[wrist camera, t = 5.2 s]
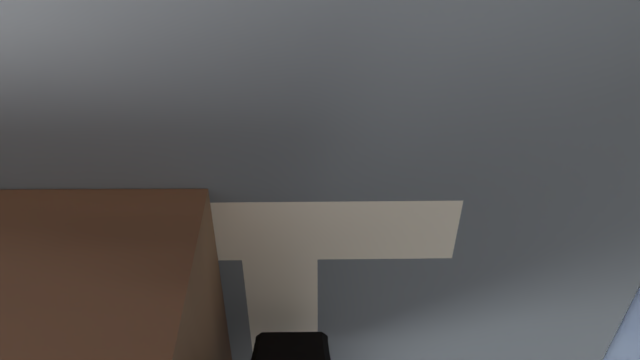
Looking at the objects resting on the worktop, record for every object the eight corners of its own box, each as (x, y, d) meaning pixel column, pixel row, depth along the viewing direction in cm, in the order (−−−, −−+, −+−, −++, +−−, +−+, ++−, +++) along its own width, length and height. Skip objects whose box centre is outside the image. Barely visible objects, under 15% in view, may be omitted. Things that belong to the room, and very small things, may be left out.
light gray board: (540, 470, 17) (542, 478, 16) (42, 477, 16) (39, 484, 16) (785, -27, 8) (795, -22, 8) (-269, -23, 8) (-281, -18, 8)
